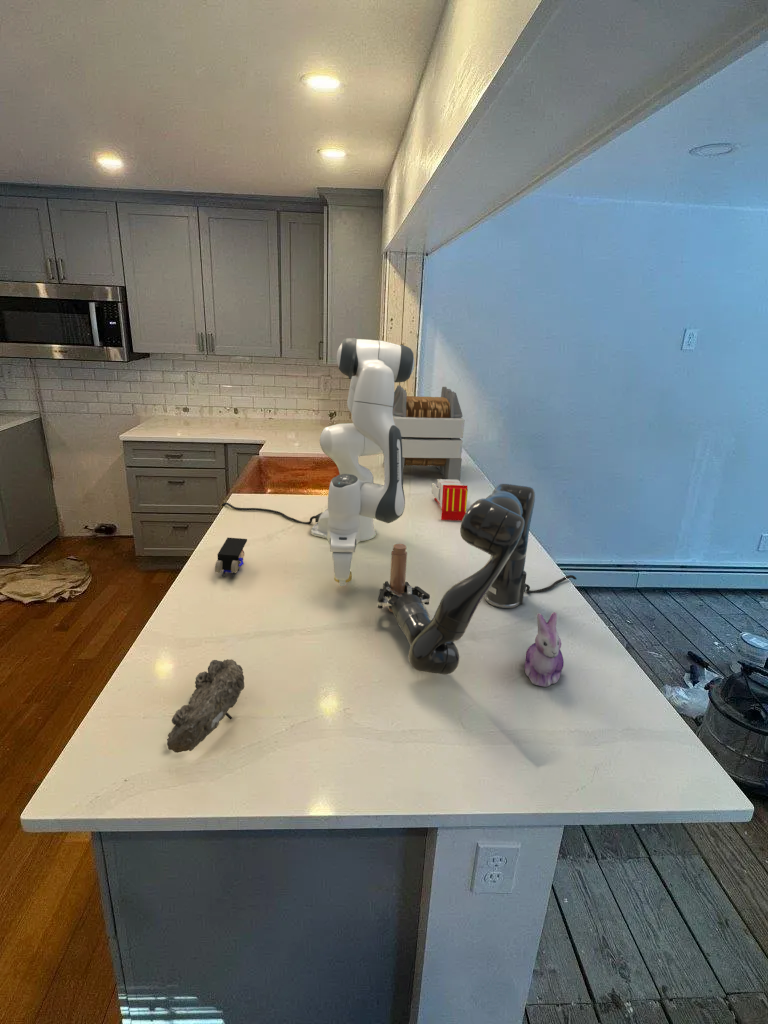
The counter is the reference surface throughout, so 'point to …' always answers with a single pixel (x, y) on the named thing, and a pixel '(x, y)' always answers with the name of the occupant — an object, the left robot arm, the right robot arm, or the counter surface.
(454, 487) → the toy
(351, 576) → the lid
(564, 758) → the counter surface
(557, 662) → the figurine
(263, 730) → the counter surface
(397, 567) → the bottle
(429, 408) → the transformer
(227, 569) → the black toy vehicle
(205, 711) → the fossil
